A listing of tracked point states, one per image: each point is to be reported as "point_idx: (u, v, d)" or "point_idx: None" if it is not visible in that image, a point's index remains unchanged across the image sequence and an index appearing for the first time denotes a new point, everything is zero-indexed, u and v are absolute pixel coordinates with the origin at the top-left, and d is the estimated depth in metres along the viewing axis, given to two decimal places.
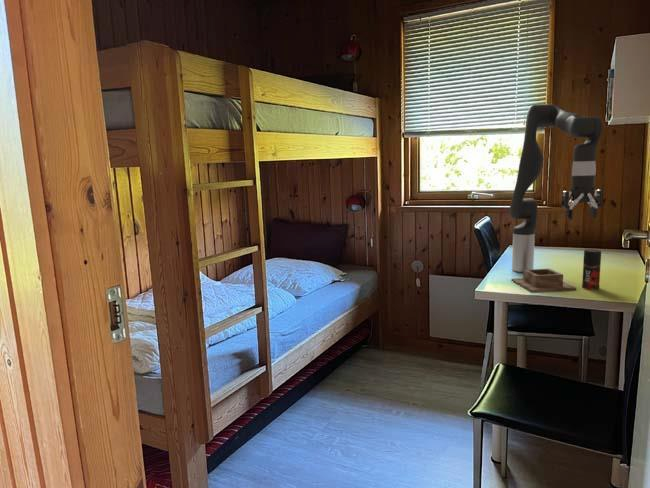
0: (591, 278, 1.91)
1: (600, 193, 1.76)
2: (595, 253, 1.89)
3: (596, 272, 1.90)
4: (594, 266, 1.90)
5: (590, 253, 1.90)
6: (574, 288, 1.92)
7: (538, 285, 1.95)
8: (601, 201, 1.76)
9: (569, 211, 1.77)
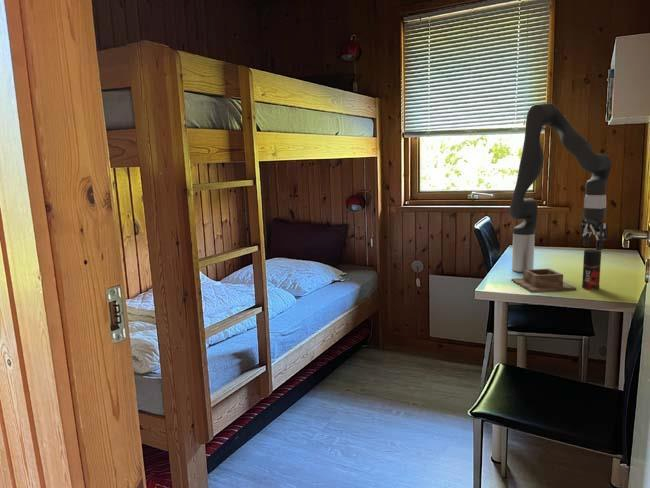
0: (591, 278, 1.91)
1: None
2: (595, 253, 1.89)
3: (596, 272, 1.90)
4: (594, 266, 1.90)
5: (590, 253, 1.90)
6: (574, 288, 1.92)
7: (538, 285, 1.95)
8: None
9: None
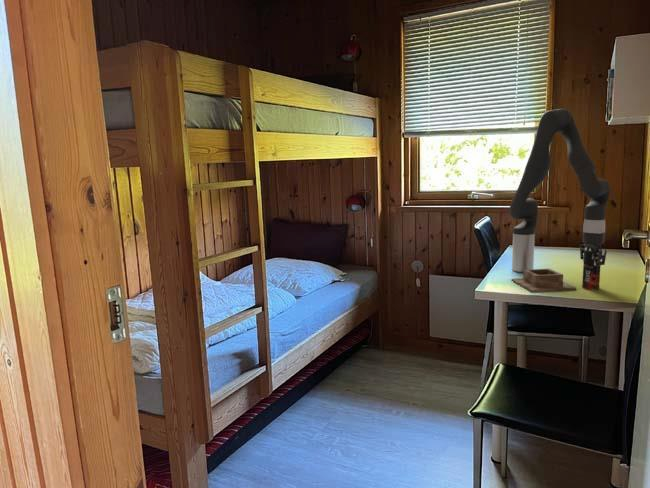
0: (591, 278, 1.91)
1: None
2: None
3: None
4: None
5: (590, 253, 1.90)
6: (574, 288, 1.92)
7: (538, 285, 1.95)
8: None
9: None
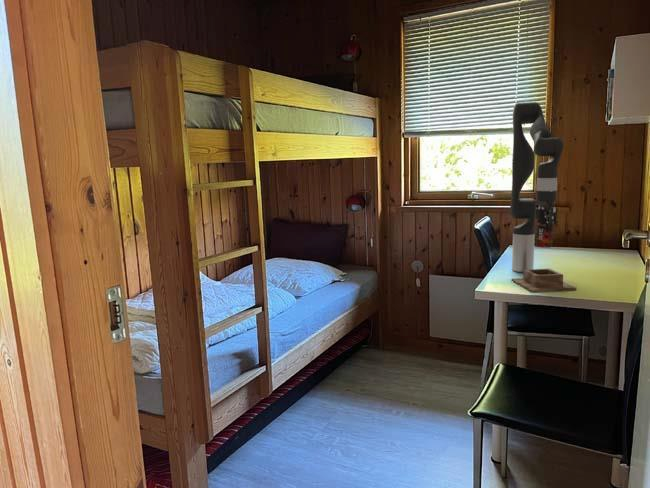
0: (544, 236, 1.95)
1: None
2: None
3: None
4: None
5: (543, 211, 1.93)
6: (574, 288, 1.92)
7: (538, 285, 1.95)
8: None
9: None
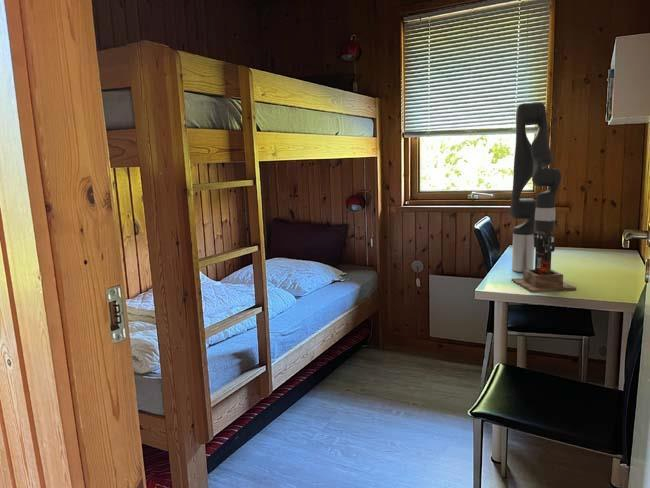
0: (542, 265, 1.97)
1: None
2: None
3: None
4: None
5: (541, 240, 1.95)
6: (574, 288, 1.92)
7: (538, 285, 1.95)
8: None
9: None
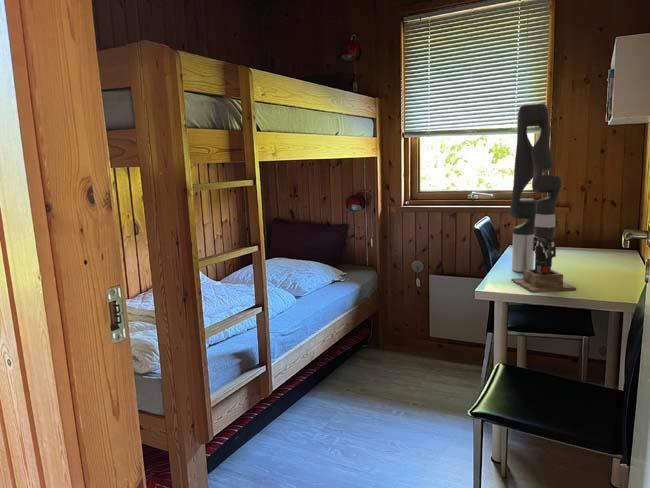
0: (542, 273, 1.97)
1: None
2: None
3: (546, 267, 1.97)
4: (544, 261, 1.96)
5: (541, 249, 1.96)
6: (574, 288, 1.92)
7: (538, 285, 1.95)
8: None
9: None
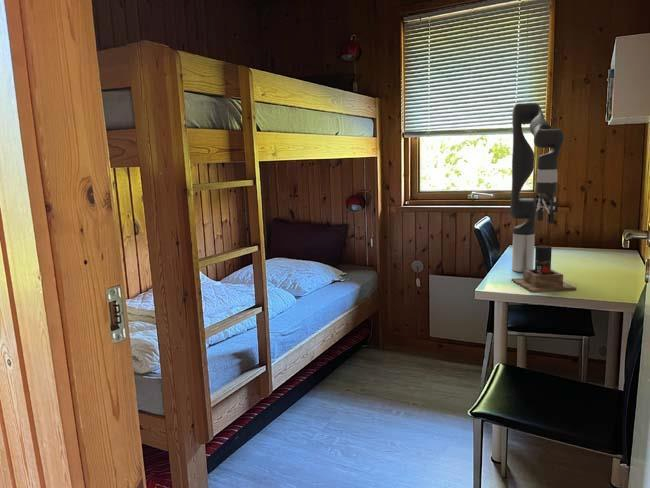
0: (542, 273, 1.97)
1: None
2: (545, 249, 1.95)
3: (546, 267, 1.96)
4: (544, 261, 1.96)
5: (540, 249, 1.96)
6: (574, 288, 1.92)
7: (538, 285, 1.95)
8: None
9: None
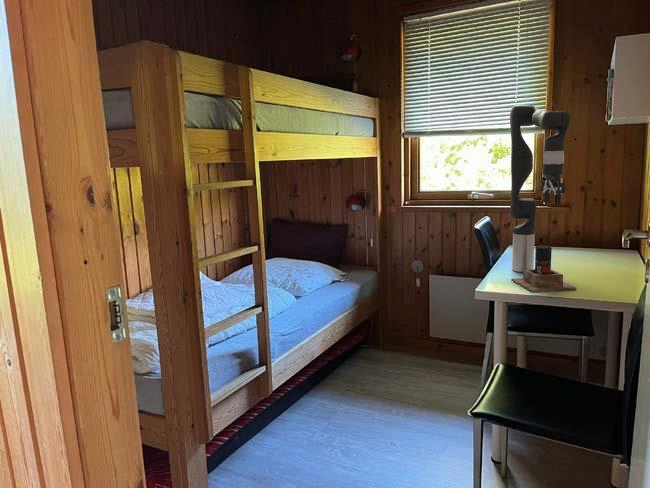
0: (542, 273, 1.97)
1: None
2: (545, 249, 1.95)
3: (546, 267, 1.96)
4: (544, 261, 1.96)
5: (541, 249, 1.96)
6: (574, 288, 1.92)
7: (538, 285, 1.95)
8: None
9: None
